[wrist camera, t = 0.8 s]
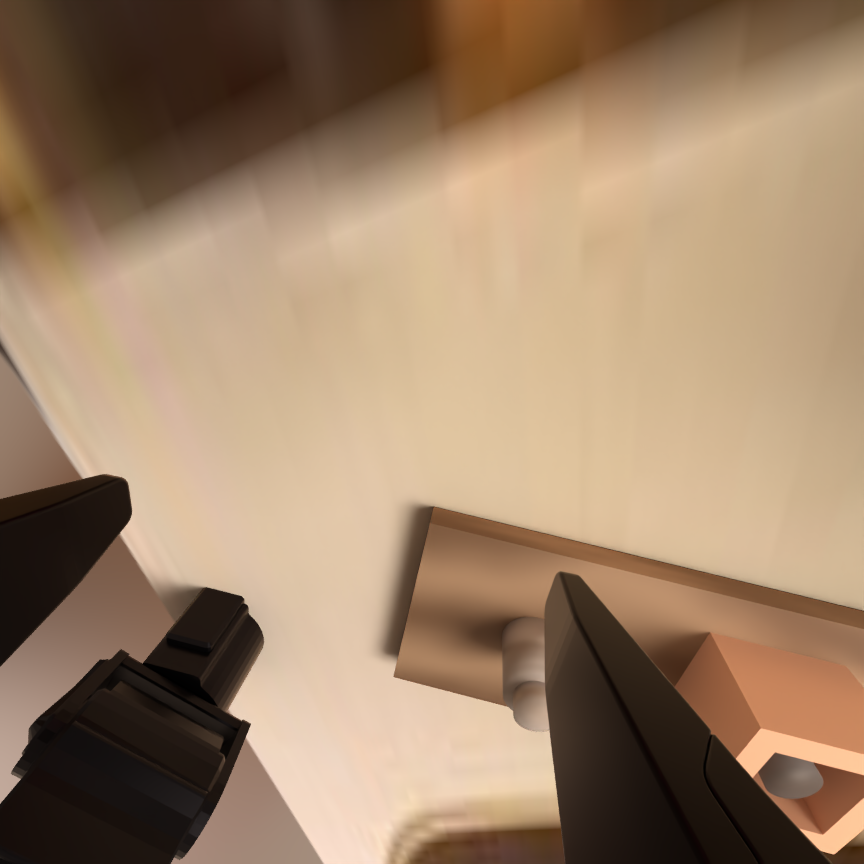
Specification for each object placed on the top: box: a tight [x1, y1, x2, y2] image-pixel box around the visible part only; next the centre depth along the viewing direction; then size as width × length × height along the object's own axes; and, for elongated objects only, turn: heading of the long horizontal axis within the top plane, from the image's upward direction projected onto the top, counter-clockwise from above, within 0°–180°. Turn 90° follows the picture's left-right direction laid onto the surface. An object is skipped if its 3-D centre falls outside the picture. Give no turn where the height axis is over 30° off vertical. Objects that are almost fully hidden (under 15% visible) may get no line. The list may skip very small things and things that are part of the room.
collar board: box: [394, 507, 864, 799], centre depth 24 cm, size 12×26×6 cm, turn 79°
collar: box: [675, 632, 864, 854], centre depth 22 cm, size 7×7×5 cm
